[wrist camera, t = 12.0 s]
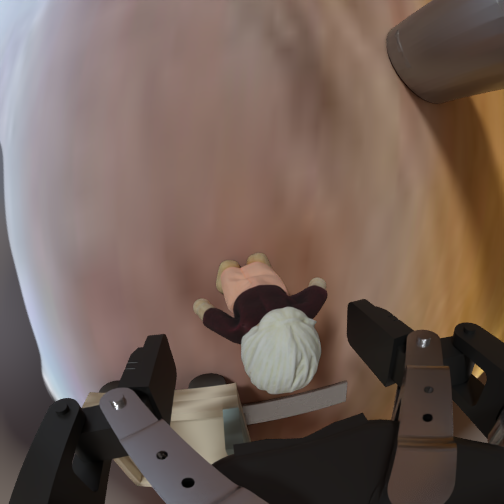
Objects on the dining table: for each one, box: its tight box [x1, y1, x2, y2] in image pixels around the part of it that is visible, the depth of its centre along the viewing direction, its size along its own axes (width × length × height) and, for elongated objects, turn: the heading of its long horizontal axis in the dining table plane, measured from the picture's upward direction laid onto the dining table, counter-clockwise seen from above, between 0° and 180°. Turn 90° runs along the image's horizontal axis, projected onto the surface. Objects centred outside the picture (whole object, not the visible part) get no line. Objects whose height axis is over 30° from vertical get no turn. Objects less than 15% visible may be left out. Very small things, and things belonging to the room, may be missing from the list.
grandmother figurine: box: [193, 253, 327, 394], centre depth 15 cm, size 8×4×13 cm, turn 111°
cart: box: [82, 373, 251, 487], centre depth 20 cm, size 14×13×9 cm
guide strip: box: [241, 381, 347, 425], centre depth 24 cm, size 26×3×1 cm, turn 98°
